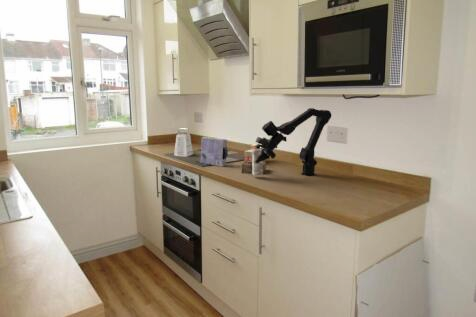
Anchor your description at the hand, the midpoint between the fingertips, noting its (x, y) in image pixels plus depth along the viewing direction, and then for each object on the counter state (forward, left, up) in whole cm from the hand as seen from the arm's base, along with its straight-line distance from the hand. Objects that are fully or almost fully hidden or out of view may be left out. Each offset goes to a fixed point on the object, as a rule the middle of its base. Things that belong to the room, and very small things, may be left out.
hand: (254, 161), depth 195 cm
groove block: (+12, -10, -9) cm, 18 cm away
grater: (+84, -2, -9) cm, 85 cm away
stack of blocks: (+32, -28, -9) cm, 44 cm away
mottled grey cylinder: (0, -2, -7) cm, 7 cm away
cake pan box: (+42, -1, -9) cm, 44 cm away
